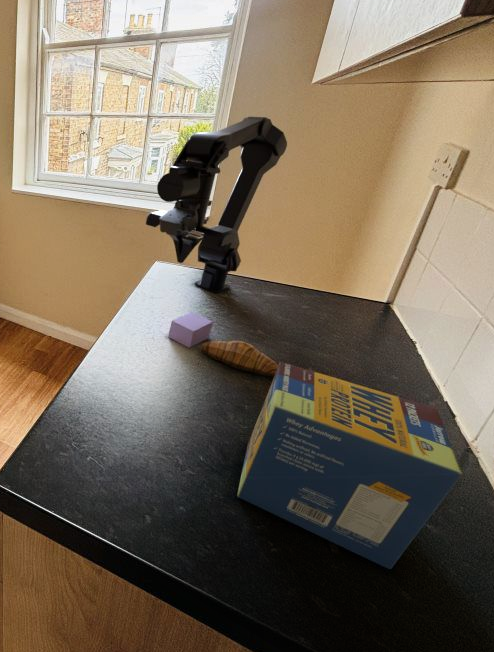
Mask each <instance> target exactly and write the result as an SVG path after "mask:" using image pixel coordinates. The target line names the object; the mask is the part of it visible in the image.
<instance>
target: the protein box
mask: <svg viewBox="0 0 494 652" xmlns="http://www.w3.org/2000/svg"><path fill="white" fill-rule="evenodd" d="M277 365H278V368H277V371H276V373H275V376H274V377H273V379H272V382H271V384H270V387H269V388H268V391H267V394H266V397H265V400H264V402H263V405H262V408H261V410H260V412H259V415H258V418H257V420H256V423H255V425H254V427H253V429H252V433H251V435H250V438H249V441H248V443H247V446H246V451H245V457H244V461H243V465H242V470H241V475H240V480H239V485H238V489H237V490H238V491H237V495H236V496H237V498H239V499H241V500H243V501H245V502H247V503H249V504H251V505H253V506H256V507H258V508H260V509H262V510H264V511H266V512H268V513H270V514H273V515H274V516H277V517H279V518H280V519H282V520H285V521H287V522H289V523H291V524H293V525H295V526H298V527H300V528H302V529H304V530H305V531H307V532H310V533H312V534H314V535H317V536H319V537H321V538H322V539H324V540H326V541H329V542H331V543H333V544H335V545H338V546H339V547H341V548H344V549H346V550H348V551H350V552H352V553H353V554H356V555H358V556H361V557H362V558H364V559H366V560H369V561H370V562H373V563H375V564H377V565H379V566H381V567H383V568H386V569H387V570H388V569H389V570H391V569H392V568H393V567H394V566H395V564H396V563H397V562H398V560H399V559H400V558H401V557H402V555H403V554H404V553H405V551H406V550H407V548H408V547H409V546H410V544H411V543H412V542H413V540H415V538H416V537H417V536H418V534H419V532H420V531H421V530H422V529H423V527H424V526H425V525H426V523H427V522H428V521H429V519H430V518H431V516H432V515H433V514H434V513H435V511H436V510H437V509H438V507H439V506H440V505H441V504H442V502H443V501H444V500H445V498H446V497H447V495H448V494H449V493H450V491H451V490H452V489H453V487H454V486H455V485H456V483H457V482H458V481H459V480H460V478H461V476H462V475H463V470H462V469H461V466H460V464H459V462H458V458H457V457H456V454H455V452H454V450H453V448H452V444H451V442H450V439H449V436H448V434H447V430H446V427H445V423H444V421H443V419H442V415H441V413H440V411H439V409H438V408H437V407H433V406H431V405H427V404H423V403H420V402H416V401H413V400H409V399H406V398H403V397H399V396H397V395H393V394H390V393H386V392H384V391H380V390H378V389H377V390H376V389H373V388H370V387H366V386H364V385H360V384H356V383H354V382H349V381H347V380H343V379H340V378H338V377H337V378H336V377H333V376H331V375H327V374H323V373H320V372H317V371H314V370H310V369H306V368H303V367H300V366H296V365H293V364H290V363H287V362H285V361H279V363H278V364H277Z"/></svg>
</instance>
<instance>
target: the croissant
mask: <svg viewBox="0 0 494 652" xmlns="http://www.w3.org/2000/svg"><path fill="white" fill-rule="evenodd" d="M200 352H202V353H203V354H205V355H206V356H208V357H210V358H212V359H214V360H216V361H218V362H221V363H223V364H225V365H227V366H229V367H231V368H234V369H237V370H241V371H244V372H249V373H252V374H255V375H259V376H265V377H271V378H272V377H273V378H274V376H275V373H276V371H277V368H278V365H279V364H277V363H276V362H275V361H274V360H273V359H272V358H271V357H269V356H267V354H265V353H263V352H262V351H259V350H258V348H257V347H256V346H255V345H253V344H250V343H248V342H245V341H241V340H231V341H227V340H211V341H206V342H203V343H202V344H201V351H200Z"/></svg>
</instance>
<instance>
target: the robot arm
mask: <svg viewBox="0 0 494 652" xmlns="http://www.w3.org/2000/svg"><path fill="white" fill-rule="evenodd" d="M238 147H240V149H241V153H240V155H239V157H240V163H241V171H240V173H239V175H238V177H237V180H236V182H235V184H234V187H233V188H232V191H231V193H230V196H229V197H228V200H227V201H226V202H227V203H226V205H225V206H224V209H223V212H222V214H221V216H220V219H219V220H218V223H217V225H214V226H211V227H208V226H204V225H206V224H207V223H208V219H207V218H206V215H207V211H208V207H211V206H212V203H213V201H212V200H210V198H211V195H212V190H213V186H214V182H215V178H216V175H217V174H220V173H221V169H220V167H219V166H220V164H221V163H222V162H224V161H225V160H226V159H227V158H229V156H230V155H229V154H230V151H232V150H234V149H236V148H238ZM287 147H288V141H287V137H286V136H285V133H284V131H283V130H281V129H280V128H278V127H277V126H276V125H274V124H273V123H272V119H271V118H268V117H267V116H250V115H249V116H248V117H244V118H243V119H242V120H240V121H238V122H235V123H233V124H231V125H229V126H226V127H224V128H222V129H219V130H217V131H200V132H195V133H194V132H193V134H191V135H190V136H189V138H188V139H187V141H186V142H185V144H184V145H183V147H182V148H181V150H180V151H179V154H178V156H176V159H175V160H174V162H173V164H172V166H170V167H169V170H168V172H167V173H164V175H162V176H161V178H160V179H159V181H158V182H157V184H156V185H157V187H156V190H157V195H158V196H159V198H160V199H161V200H162V201H164V202H167V203H172V202H175V203H174V206H173V208H172V209H170V210H169V209H168V211H167V210H163V209H161V210H157V211H152V212H149V213H148V214H147V216H146V219H145V225H146V226H148V227H149V226H150V227H152V228H153V227H154V228H158V227H159V231H160V232H161V233H165V234H166V235H168V236H169V237H170V238H171V239H172V241H173V244H174V250H175V256H176V261H177V263H180V264H183V263H184V262H185V261H186V259H187V258H188V256H190V254H191V253H192V252H193V250H194V249H195V248H196V247H197V246H198V247H197V262H198V263H202V264H204V267H203V270H202V274H201V277H200V278H201V279H200V280H197V281H195V282H194V285H195V286H197V287H199V288H203V289H205V290H208V291H210V292H212V293H216V294H219V293H221V292H223V291H225V290H228V289H230V284H227V283H226V281H227V277H228V274H229V273H230V272H237V271H238V268H239V267H240V266H241V265H240V264H241V262H242V258H241V256H240V253H239V248H240V245H241V241H240V238H239V233H238V231H239V230H240V227H241V225H242V223H243V220H244V219H245V216H246V214H247V212H248V209H249V207H250V206H251V203H252V201H253V199H254V196H255V194H256V192H257V190H258V188H259V185H260V183H261V181H262V178H263V177H264V175H265V174H266V173H268V171H270V170H271V169H272V168H274V167H275V166H276V165H278V162H279V160H280V159H281V157H282V156H283V155H284V153H285V152H286V150H287Z"/></svg>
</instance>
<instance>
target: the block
mask: <svg viewBox="0 0 494 652" xmlns="http://www.w3.org/2000/svg"><path fill="white" fill-rule="evenodd" d="M213 324H214V320H210V319H208V318H206V317H204V316H202V315H201V314H197V313H195V312H193V311H190V312H187V313H185V314H184V315H181V316H179V317H177V318H175V319H173V320H171V322H170V326H169V331H168V335H167V336H168V338H170V339H171V340H173V341H175V342H177V343H179V344H181V345H183V346H185V347H187V348H188V349H189V348H192V347H194V346H196V345H198V344H200V343H202V342H203V341H205V340H207V339H209V338H210V335H211V331H212V328H213Z"/></svg>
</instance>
